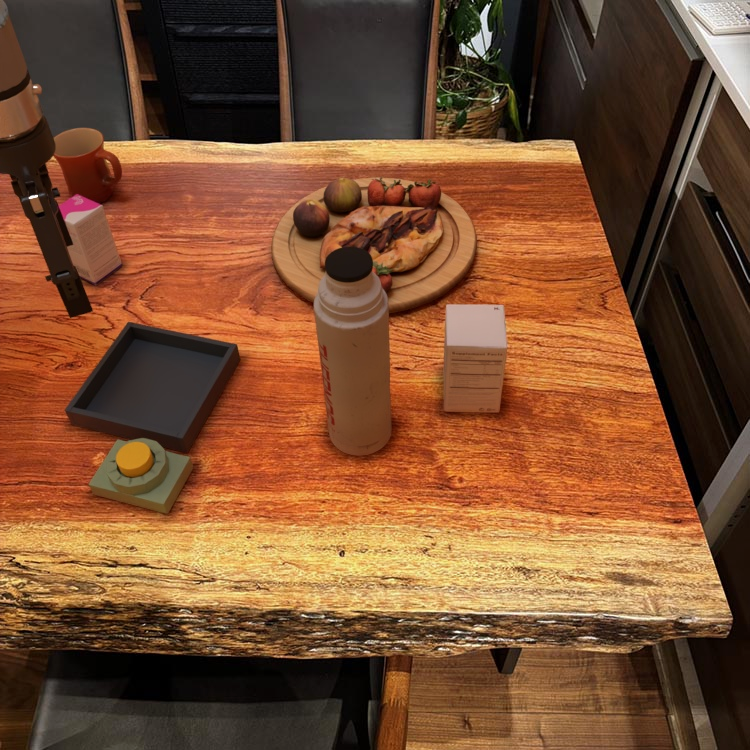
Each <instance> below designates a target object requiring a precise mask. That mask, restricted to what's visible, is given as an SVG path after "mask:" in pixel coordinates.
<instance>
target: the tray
mask: <svg viewBox="0 0 750 750" xmlns="http://www.w3.org/2000/svg"><path fill="white" fill-rule="evenodd" d="M240 355H241V354H240V351H239V347H238V344H237V343H233V342H228V341H223V340H218V339H215V338H214V339H213V338H209V337H206V336H205V337H204V336H199V335H195V334H189V333H186V332H180V331H175V330H171V329H166V328H160V327H156V326H151V325H146V324H141V323H137V322H132V321H127V322H126V324H125V325H124V327H123V328H122V330H121V331H120V332H119V334H118V335H117V337H116V338H115V339H114V340H113V342H112V343H111V345H110V346H109V347H108V348H107V350H106V351H105V353H104V354H103V355H102V356H101V358H100V360H98V363H97V364H96V365H95V367H94V368H93V369H92V371H91V372H90V373H89V375H88V377H86V379H85V381H84V382H83V384H81V385H80V387H79V389H78V391H77V392H76V393H75V394H74V396H73V397H72V399H71V400H70V401H69V403H68V404H67V406H66V407H65V409H64V412H65V414H66V416H67V418H68V420H69V422H70V424H71V426H74V427H79V428H82V429H87V430H91V431H95V432H99V433H102V434H107V435H110V436H115V437H119V438H123V439H128V440H135V439H140V438H146V439H150V440H154V441H157V442H158V443H159V444H160V445H161V446H162V447H163V449H168V450H172V451H177V452H180V453H185V454H189V451H190V449H191V448H192V446H193V444H194V443H195V441H196V439H197V438H198V436H199V434H200V432H201V431H202V428H203V427H204V426H205V423H206V421H207V419H208V418H209V416H210V414H211V413H212V411H213V409H214V408H215V406H216V404H217V402H218V401H219V398H220V397H221V395H222V393H223V391H224V390H225V388H226V386H227V385H228V382H229V381H230V379H231V377H232V376H233V374H234V372H235V370H236V368H237V366H238V365H239V363H240V362H241V356H240Z"/></svg>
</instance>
